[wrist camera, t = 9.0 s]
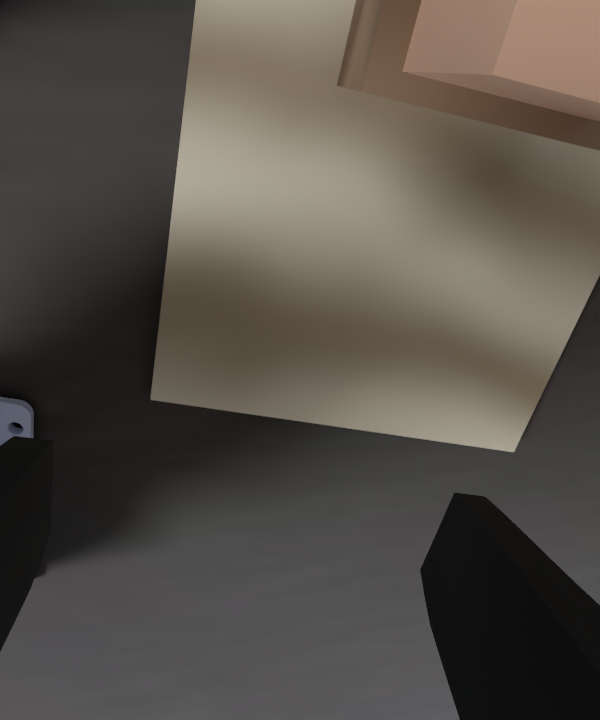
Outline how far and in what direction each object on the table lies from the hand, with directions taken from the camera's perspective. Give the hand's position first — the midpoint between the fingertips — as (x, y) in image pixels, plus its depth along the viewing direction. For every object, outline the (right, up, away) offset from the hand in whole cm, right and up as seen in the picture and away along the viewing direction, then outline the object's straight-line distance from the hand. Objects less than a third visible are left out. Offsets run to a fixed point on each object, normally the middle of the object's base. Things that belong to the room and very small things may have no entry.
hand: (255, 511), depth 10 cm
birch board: (+5, +9, +7) cm, 12 cm away
